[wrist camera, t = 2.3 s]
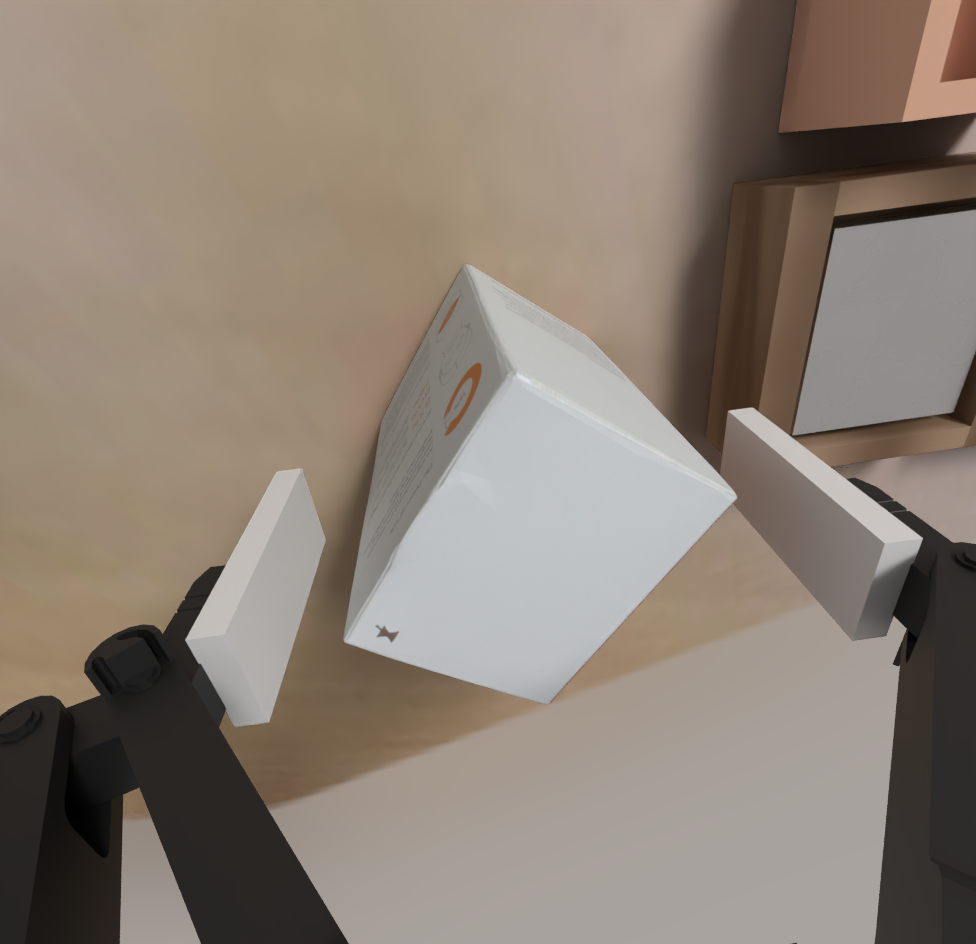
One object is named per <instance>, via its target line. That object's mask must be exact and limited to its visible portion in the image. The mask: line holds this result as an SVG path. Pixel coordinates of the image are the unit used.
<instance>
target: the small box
mask: <svg viewBox="0 0 976 944" xmlns="http://www.w3.org/2000/svg"><path fill="white" fill-rule="evenodd" d="M736 500H737V495H736V494H735V492H734V490H733V489H732V488H731V487H730V486H729V485H728V484H727V483H726V481H725V480H724V479H723V478H722V477H721V476H720V475H719V474H718V473H717V472H716V470H715V469H714V468H713V467H712V466H711V465H710V464H709V463H708V462H707V461H706V460H705V459H704V458H703V457H702V456H701V455H700V454H699V453H698V452H697V451H696V450H695V449H694V448H693V446H692V445H691V444H690V443H689V442H688V441H687V440H686V439H685V438H684V437H683V436H682V435H681V434H680V433H679V432H678V431H677V430H676V429H675V428H674V427H673V426H672V424H671V423H670V422H669V421H668V420H667V419H666V418H665V417H664V416H663V415H662V414H661V413H660V412H659V411H658V410H657V409H656V408H655V406H654V405H653V404H652V403H651V402H650V401H649V400H648V399H647V398H646V397H645V396H644V395H643V394H642V393H641V392H640V390H639V389H638V388H637V387H636V386H635V385H634V384H633V383H632V382H631V381H630V380H629V379H628V378H627V377H626V376H625V375H624V374H623V373H622V371H621V370H620V369H619V368H618V367H617V366H616V365H615V364H614V363H613V362H612V361H611V360H610V359H609V358H608V357H607V356H606V355H605V354H604V353H603V352H602V351H601V350H600V349H599V348H598V347H597V346H596V345H595V344H594V342H592V341H591V339H590V338H589V337H587V336H586V335H584V334H583V333H581V332H579V331H578V330H576V329H574V328H573V327H571V326H569V325H568V324H566V323H564V322H563V321H561V320H560V319H558V318H556V317H555V316H553V315H551V314H550V313H548V312H546V311H545V310H543V309H541V308H540V307H538V306H536V305H535V304H533V303H531V302H530V301H528V300H527V299H525V298H523V297H522V296H520V295H518V294H517V293H515V292H514V291H512V290H510V289H509V288H507V287H505V286H504V285H502V284H500V283H499V282H497V281H495V280H494V279H492V278H490V277H489V276H487V275H486V274H484V273H482V272H481V271H479V270H477V269H476V268H474V267H473V266H471V265H469V264H465V265H463V267H462V269H461V271H460V272H459V274H458V276H457V278H456V280H455V281H454V283H453V285H452V287H451V289H450V291H449V292H448V294H447V296H446V298H445V300H444V302H443V304H442V306H441V307H440V309H439V311H438V313H437V315H436V317H435V319H434V321H433V322H432V324H431V326H430V328H429V330H428V332H427V334H426V336H425V338H424V339H423V341H422V343H421V345H420V347H419V349H418V351H417V353H416V355H415V357H414V359H413V361H412V362H411V364H410V366H409V368H408V370H407V372H406V374H405V376H404V378H403V380H402V382H401V383H400V385H399V387H398V389H397V391H396V393H395V395H394V397H393V399H392V401H391V403H390V405H389V407H388V409H387V411H386V413H385V415H384V417H383V419H382V421H381V428H380V433H379V439H378V445H377V452H376V459H375V465H374V471H373V477H372V482H371V487H370V493H369V498H368V503H367V508H366V513H365V518H364V524H363V529H362V535H361V540H360V545H359V552H358V558H357V563H356V569H355V574H354V580H353V585H352V591H351V597H350V602H349V609H348V615H347V620H346V625H345V631H344V637H343V640H344V642H345V643H346V644H350V645H353V646H356V647H359V648H362V649H365V650H368V651H371V652H374V653H377V654H380V655H383V656H386V657H389V658H392V659H395V660H398V661H401V662H404V663H407V664H410V665H414V666H417V667H420V668H424V669H427V670H430V671H433V672H437V673H440V674H443V675H447V676H450V677H453V678H456V679H460V680H463V681H467V682H470V683H474V684H477V685H480V686H484V687H488V688H491V689H494V690H497V691H501V692H504V693H507V694H511V695H514V696H518V697H521V698H525V699H529V700H533V701H536V702H539V703H542V704H549V703H550V702H552V700H553V699H554V698H555V697H556V696H557V695H558V693H559V692H560V691H561V690H562V689H563V688H564V687H565V686H566V685H567V683H568V682H569V681H570V680H571V679H572V678H573V677H574V676H575V675H576V674H577V673H578V672H579V671H580V669H581V668H582V667H583V666H584V665H585V664H586V663H587V661H588V660H589V659H590V658H591V657H592V656H593V655H594V654H595V653H596V652H597V651H598V650H599V649H600V648H601V646H602V645H603V644H604V643H605V642H606V641H607V640H608V639H609V637H610V636H611V635H612V634H613V633H614V632H615V631H616V630H617V629H618V628H619V627H620V625H621V624H622V623H623V622H624V621H625V620H626V619H627V618H628V617H629V616H630V615H631V613H632V612H633V611H634V610H635V609H636V608H637V607H638V606H639V605H640V604H641V603H642V602H643V600H644V599H645V598H646V597H647V596H648V595H649V594H650V593H651V591H652V590H653V589H654V588H655V587H656V586H657V585H658V584H659V583H660V582H661V580H662V579H663V578H664V577H665V576H666V575H667V574H668V573H669V572H670V571H671V570H672V569H673V568H674V567H675V565H676V564H677V563H678V562H679V561H680V560H681V559H682V558H683V557H684V556H685V555H686V553H687V552H688V551H689V550H690V549H691V548H692V547H693V546H694V545H695V544H696V543H697V541H698V540H699V539H700V538H701V537H702V536H703V535H704V534H705V533H706V532H707V531H708V529H709V528H710V527H711V526H712V525H713V524H714V523H715V522H716V521H717V520H718V519H719V518H720V516H721V515H722V514H723V513H724V512H725V511H726V510H727V509H728V508H729V507H730V506H731V505H732V504H733V503H734V502H735V501H736Z"/></svg>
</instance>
